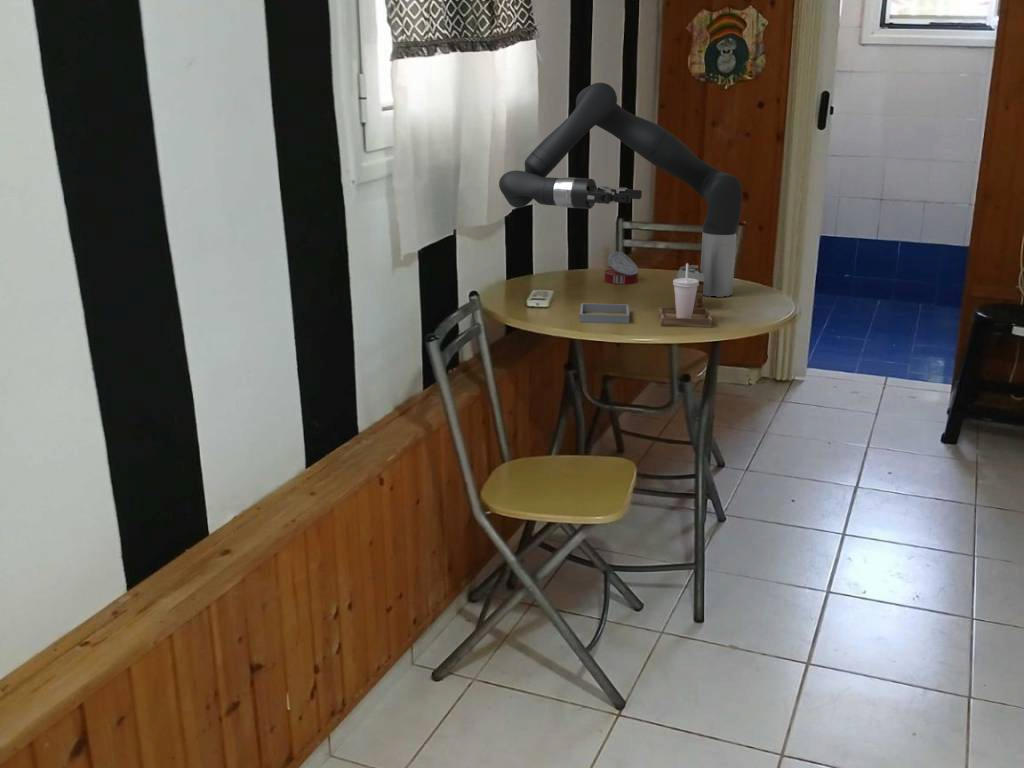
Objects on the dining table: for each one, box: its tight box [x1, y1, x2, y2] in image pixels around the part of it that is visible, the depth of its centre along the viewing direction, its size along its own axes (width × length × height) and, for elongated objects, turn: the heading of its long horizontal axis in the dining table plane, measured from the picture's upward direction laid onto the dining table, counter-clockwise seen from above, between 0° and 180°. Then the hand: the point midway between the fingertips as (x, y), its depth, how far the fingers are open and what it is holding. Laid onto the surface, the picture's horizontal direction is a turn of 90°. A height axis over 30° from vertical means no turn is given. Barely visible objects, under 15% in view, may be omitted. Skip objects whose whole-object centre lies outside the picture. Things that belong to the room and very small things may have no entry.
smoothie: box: [672, 262, 699, 318], centre depth 259 cm, size 6×6×14 cm
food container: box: [676, 264, 704, 308], centre depth 276 cm, size 12×6×10 cm, turn 178°
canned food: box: [604, 250, 639, 286], centre depth 307 cm, size 11×10×10 cm
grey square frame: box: [579, 302, 630, 324], centre depth 264 cm, size 12×12×2 cm
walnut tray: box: [658, 306, 713, 328], centre depth 261 cm, size 12×12×2 cm
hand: (635, 196), depth 258 cm, fingers open, 8 cm apart
